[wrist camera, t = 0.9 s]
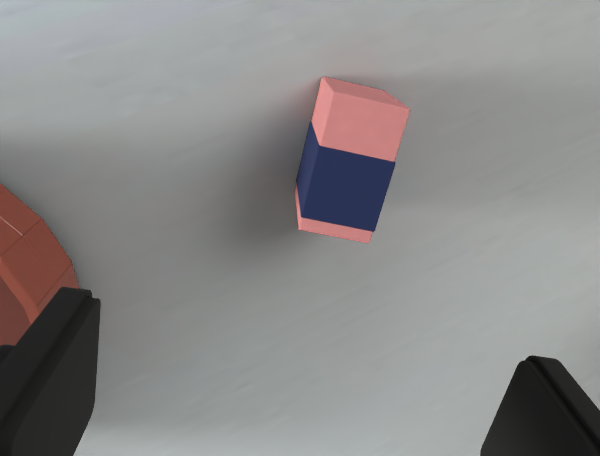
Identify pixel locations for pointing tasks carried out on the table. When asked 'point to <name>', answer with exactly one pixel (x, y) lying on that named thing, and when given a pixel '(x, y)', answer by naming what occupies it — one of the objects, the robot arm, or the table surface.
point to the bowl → (27, 267)
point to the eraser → (348, 159)
